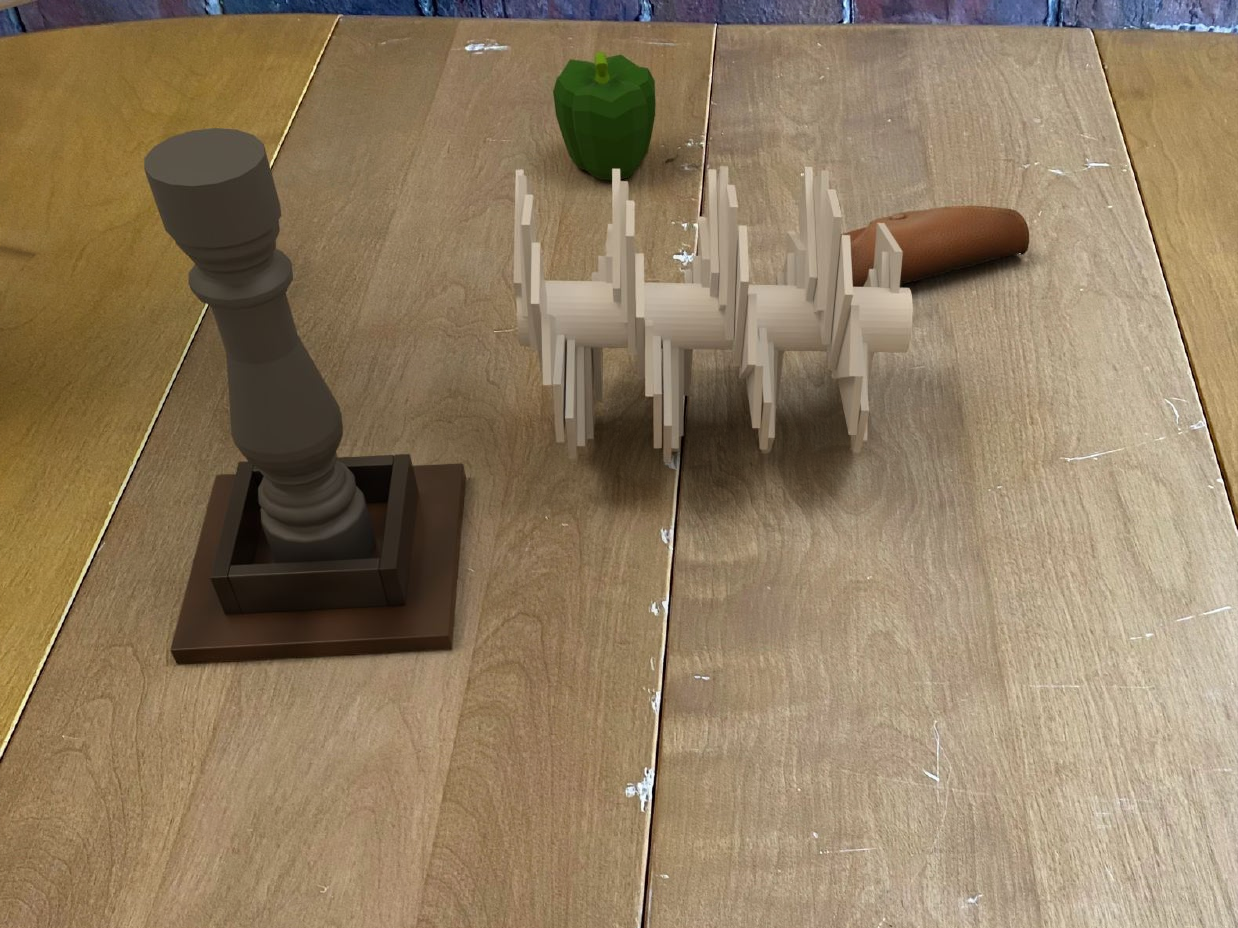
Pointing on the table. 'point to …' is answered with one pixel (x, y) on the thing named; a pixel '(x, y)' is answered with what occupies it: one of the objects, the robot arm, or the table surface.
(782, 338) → the spiral staircase
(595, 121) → the bell pepper
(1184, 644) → the table surface
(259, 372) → the grey baluster post
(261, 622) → the socket pad
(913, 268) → the sunglasses case
